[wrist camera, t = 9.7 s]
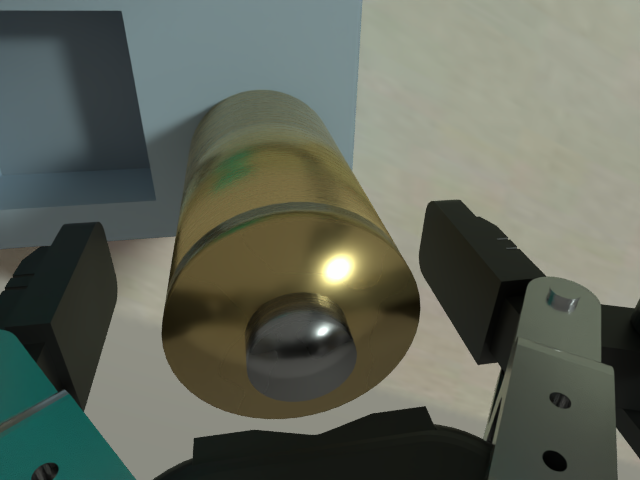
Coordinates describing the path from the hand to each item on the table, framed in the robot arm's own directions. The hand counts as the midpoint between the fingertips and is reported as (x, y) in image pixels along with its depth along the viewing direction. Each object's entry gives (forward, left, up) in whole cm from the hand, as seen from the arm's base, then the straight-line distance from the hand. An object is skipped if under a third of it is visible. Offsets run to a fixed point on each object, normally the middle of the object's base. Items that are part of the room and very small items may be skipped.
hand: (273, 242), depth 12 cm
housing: (-2, -4, -10) cm, 11 cm away
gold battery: (0, 0, -5) cm, 5 cm away
